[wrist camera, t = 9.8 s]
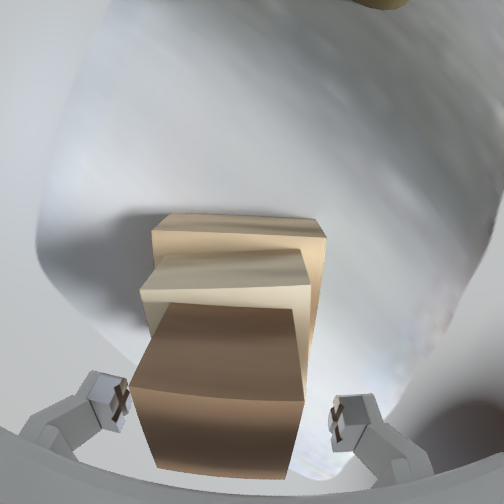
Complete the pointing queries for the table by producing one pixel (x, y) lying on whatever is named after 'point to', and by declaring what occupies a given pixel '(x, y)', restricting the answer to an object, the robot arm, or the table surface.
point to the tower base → (244, 241)
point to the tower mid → (234, 287)
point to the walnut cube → (221, 391)
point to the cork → (382, 4)
